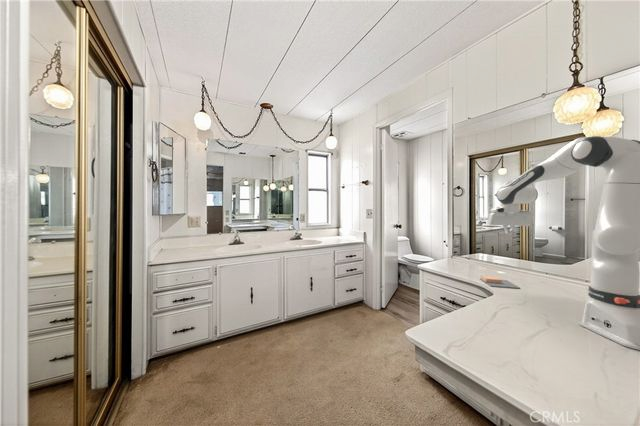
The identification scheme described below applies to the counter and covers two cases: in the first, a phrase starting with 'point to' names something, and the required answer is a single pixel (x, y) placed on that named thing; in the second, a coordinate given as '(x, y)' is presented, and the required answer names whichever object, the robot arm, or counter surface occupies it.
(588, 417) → the counter surface
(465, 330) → the counter surface
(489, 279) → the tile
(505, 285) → the mat
